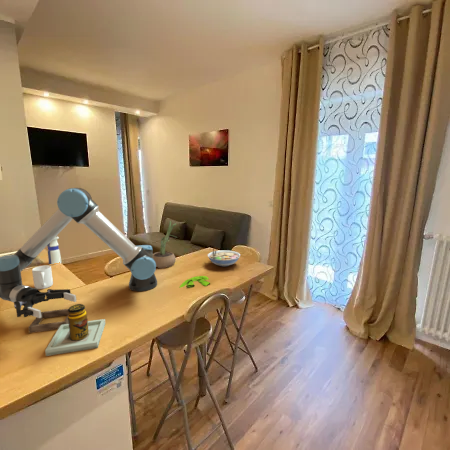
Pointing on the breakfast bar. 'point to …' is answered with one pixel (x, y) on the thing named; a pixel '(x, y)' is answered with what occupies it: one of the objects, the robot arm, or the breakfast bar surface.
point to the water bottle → (54, 251)
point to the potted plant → (163, 256)
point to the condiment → (77, 324)
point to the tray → (91, 342)
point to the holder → (49, 326)
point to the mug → (42, 277)
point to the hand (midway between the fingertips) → (58, 305)
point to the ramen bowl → (223, 257)
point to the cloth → (195, 280)
